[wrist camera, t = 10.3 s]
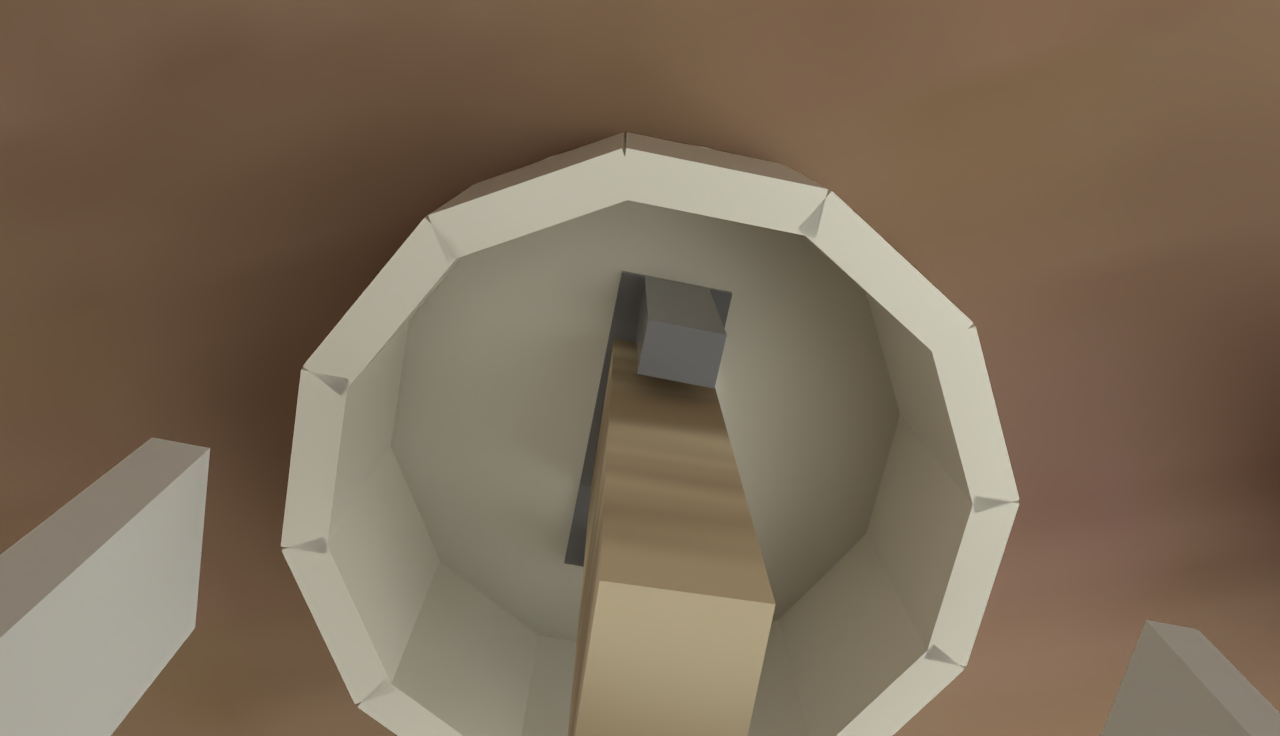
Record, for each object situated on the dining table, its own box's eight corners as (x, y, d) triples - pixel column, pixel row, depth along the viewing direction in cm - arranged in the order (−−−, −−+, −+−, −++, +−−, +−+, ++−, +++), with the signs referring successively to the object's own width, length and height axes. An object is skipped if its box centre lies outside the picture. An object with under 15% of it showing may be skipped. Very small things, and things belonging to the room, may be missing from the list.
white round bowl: (408, 86, 21) (333, 87, 16) (987, 204, 22) (1103, 245, 17) (337, 616, 25) (255, 767, 19) (842, 702, 25) (899, 871, 20)
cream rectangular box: (613, 338, 22) (599, 580, 11) (705, 352, 22) (775, 604, 11) (591, 487, 23) (557, 840, 12) (678, 500, 23) (721, 859, 12)
